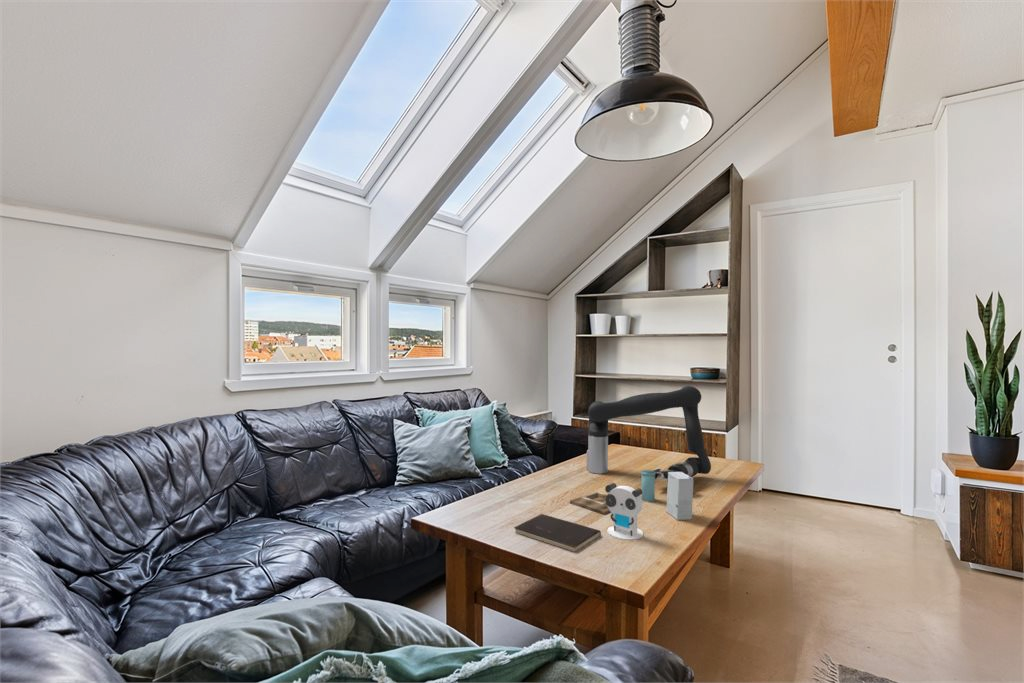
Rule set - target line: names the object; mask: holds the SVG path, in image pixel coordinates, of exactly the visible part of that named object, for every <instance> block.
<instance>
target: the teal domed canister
mask: <svg viewBox="0 0 1024 683" xmlns="http://www.w3.org/2000/svg"><path fill="white" fill-rule="evenodd" d="M640 475H641V490H642V494H641V500H642V502H646V503H647V502H648V503H652V502H655V500H656V493H655V492H656V489H655V488H656V487H655V486H656V481H655V480H656V479H655V471H653V470H651V469H642V470H641V471H640Z"/></svg>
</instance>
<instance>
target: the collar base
mask: <svg viewBox="0 0 1024 683" xmlns="http://www.w3.org/2000/svg"><path fill="white" fill-rule="evenodd" d="M607 495H608V494H607V493H604V492H600V491H593V492H591V493H588V494H586V495H583V496H580V497H577V498H574V499H571V500H569V504H571V505H575V506H577V507H580V508H583V509H586V510H589V511H592V512H595V513H597V514H601V515H606V514H610V513H611V511H610V510H609V508H608V506H607V504H606V497H607Z"/></svg>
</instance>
